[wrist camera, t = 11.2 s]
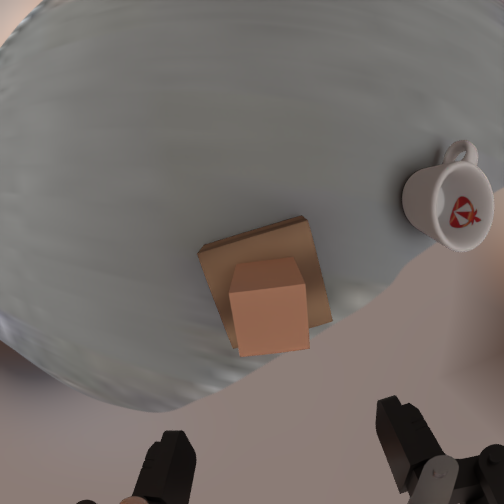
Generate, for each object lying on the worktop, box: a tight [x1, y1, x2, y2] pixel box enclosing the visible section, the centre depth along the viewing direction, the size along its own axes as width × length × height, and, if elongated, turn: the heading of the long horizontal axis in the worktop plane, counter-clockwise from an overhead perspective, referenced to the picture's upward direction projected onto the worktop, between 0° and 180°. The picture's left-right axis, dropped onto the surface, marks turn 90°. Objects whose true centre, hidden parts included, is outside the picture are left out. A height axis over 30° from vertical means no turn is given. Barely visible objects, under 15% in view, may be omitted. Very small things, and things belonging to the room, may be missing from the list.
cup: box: [402, 140, 494, 252], centre depth 24 cm, size 11×8×8 cm
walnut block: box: [197, 216, 333, 348], centre depth 29 cm, size 10×10×4 cm
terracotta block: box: [229, 257, 310, 357], centre depth 23 cm, size 5×5×7 cm
